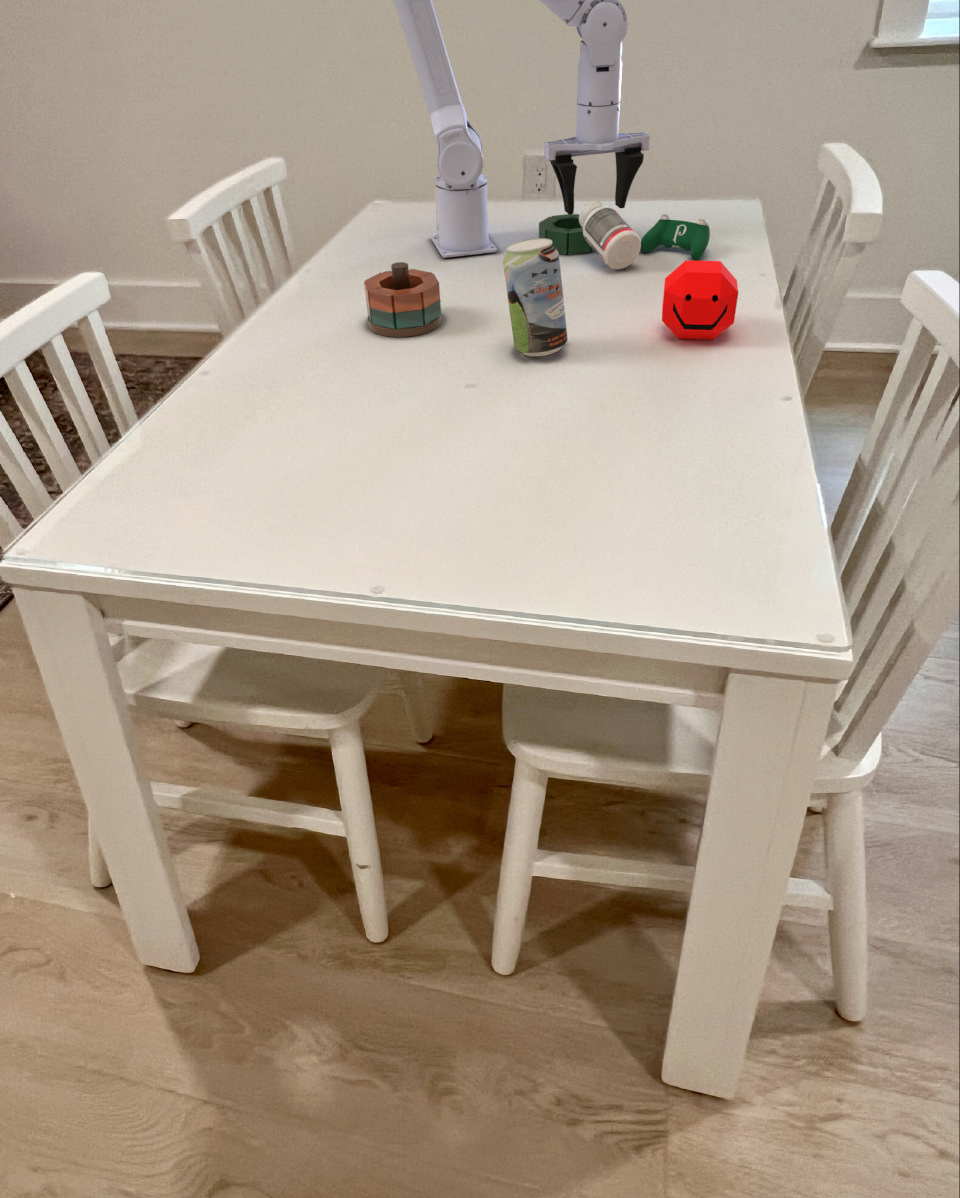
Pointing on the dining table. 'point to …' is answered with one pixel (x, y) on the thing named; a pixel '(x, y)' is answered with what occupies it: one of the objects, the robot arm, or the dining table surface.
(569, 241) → the green ring
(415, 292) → the ring stack
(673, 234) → the gaming controller
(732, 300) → the ball
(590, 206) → the pill bottle
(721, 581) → the dining table surface
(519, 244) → the beverage can
